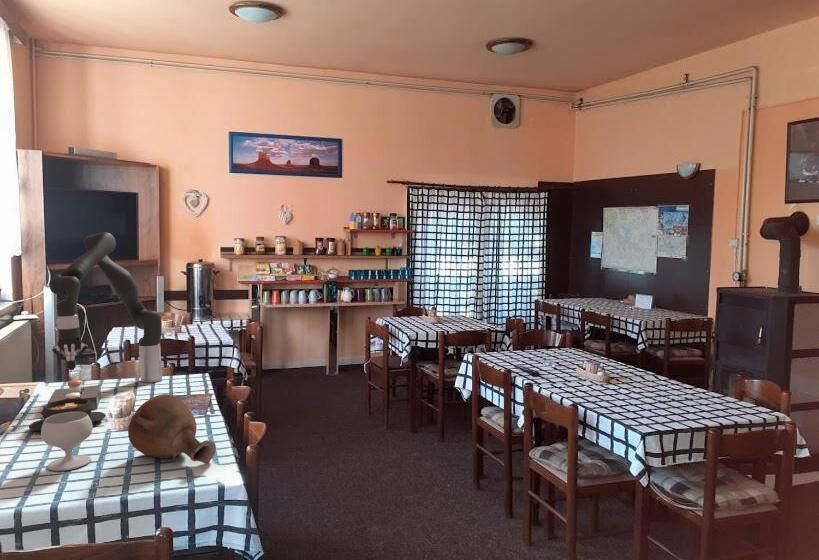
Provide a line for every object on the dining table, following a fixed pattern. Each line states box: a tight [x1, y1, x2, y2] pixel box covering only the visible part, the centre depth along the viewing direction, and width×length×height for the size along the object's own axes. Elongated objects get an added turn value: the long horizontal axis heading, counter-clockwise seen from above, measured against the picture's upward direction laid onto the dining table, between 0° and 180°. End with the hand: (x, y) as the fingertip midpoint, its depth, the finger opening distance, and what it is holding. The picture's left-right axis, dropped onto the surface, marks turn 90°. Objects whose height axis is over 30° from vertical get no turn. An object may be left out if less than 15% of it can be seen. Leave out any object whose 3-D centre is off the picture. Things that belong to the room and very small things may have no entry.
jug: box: [127, 393, 217, 464], centre depth 196 cm, size 20×20×30 cm
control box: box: [47, 384, 102, 411], centre depth 255 cm, size 17×20×5 cm
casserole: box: [28, 398, 107, 431], centre depth 229 cm, size 25×19×8 cm
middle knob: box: [67, 379, 83, 394], centre depth 255 cm, size 5×5×6 cm
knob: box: [66, 392, 80, 399], centre depth 249 cm, size 5×5×6 cm
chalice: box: [40, 412, 94, 472], centre depth 192 cm, size 14×14×15 cm
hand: (71, 369), depth 247 cm, fingers closed
